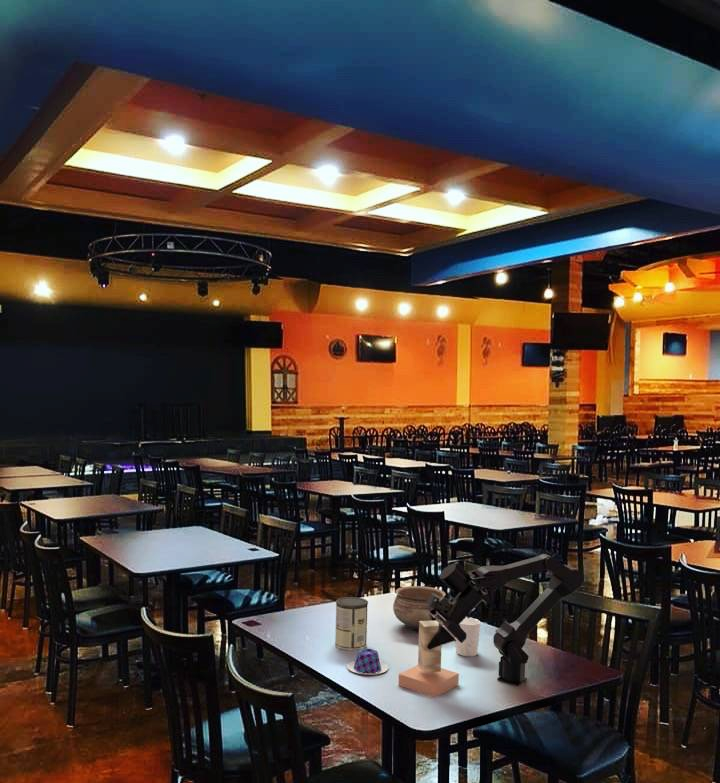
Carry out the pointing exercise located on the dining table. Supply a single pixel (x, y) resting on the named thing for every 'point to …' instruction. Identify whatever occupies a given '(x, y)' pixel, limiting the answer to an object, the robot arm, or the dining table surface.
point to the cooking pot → (414, 604)
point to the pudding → (367, 662)
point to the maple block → (427, 657)
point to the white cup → (469, 637)
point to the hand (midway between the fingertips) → (425, 644)
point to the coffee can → (351, 623)
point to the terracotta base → (428, 680)
